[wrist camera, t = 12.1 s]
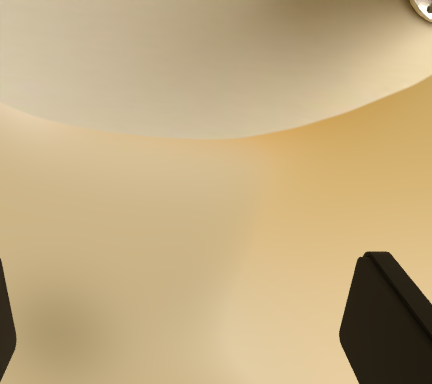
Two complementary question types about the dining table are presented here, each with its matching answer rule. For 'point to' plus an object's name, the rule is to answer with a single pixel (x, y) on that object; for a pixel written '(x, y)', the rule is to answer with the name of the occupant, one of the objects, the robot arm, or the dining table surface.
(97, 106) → the dining table surface
